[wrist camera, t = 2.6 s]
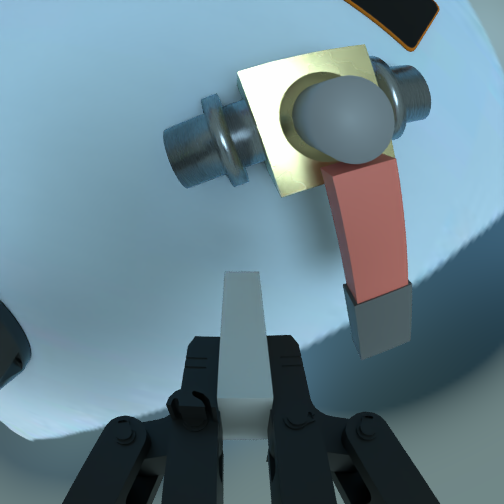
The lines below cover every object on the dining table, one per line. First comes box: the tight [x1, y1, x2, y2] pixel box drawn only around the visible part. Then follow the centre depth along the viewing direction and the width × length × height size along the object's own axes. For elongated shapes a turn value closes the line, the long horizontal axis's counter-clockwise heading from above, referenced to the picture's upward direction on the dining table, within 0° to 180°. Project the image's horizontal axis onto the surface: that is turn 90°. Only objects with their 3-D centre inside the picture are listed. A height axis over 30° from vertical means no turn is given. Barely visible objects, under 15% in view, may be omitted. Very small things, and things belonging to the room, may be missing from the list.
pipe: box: [163, 44, 431, 198], centre depth 17 cm, size 18×7×8 cm, turn 109°
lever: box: [292, 75, 412, 360], centre depth 14 cm, size 4×15×4 cm, turn 19°
